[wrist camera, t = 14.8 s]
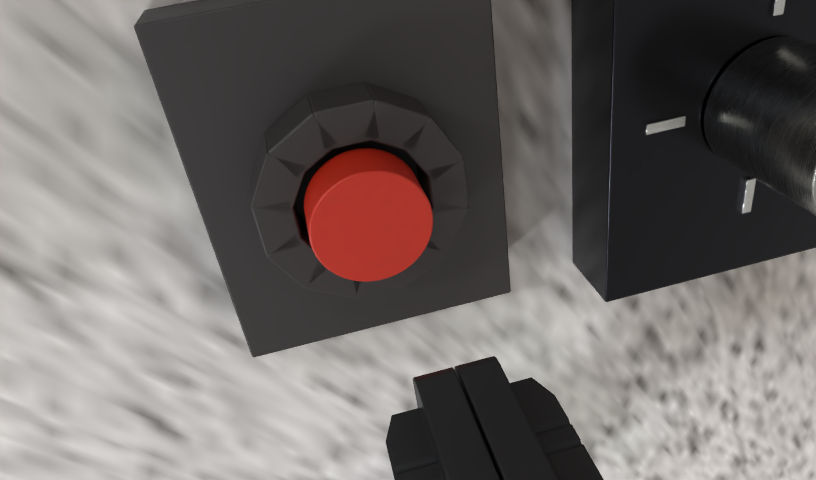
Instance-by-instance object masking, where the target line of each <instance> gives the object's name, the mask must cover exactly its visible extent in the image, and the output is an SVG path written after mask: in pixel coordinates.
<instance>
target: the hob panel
mask: <svg viewBox="0 0 816 480" xmlns="http://www.w3.org/2000/svg"><path fill="white" fill-rule="evenodd" d="M784 36H789V37H796V38H799V39H802V40H806V41H809V42H812V43H815V44H816V0H572V188H573V263H574V264H575V266H576V267H577V268H578V269H579V270H580V272H581V273H582V274H583V275H584V276H585V278H586V279H587V280H588V281H589V282H590V284H591V285H592V286H593V287H594V288H595V290H596V291H597V292H598V293H599V294H600V296H601V297H602V298H603V299H604V300H605V302H609V301H612V300H616V299H620V298H624V297H628V296H632V295H635V294H639V293H643V292H647V291H651V290H655V289H659V288H662V287H666V286H670V285H674V284H678V283H682V282H685V281H689V280H693V279H697V278H701V277H705V276H708V275H712V274H716V273H720V272H724V271H728V270H731V269H735V268H739V267H743V266H747V265H751V264H755V263H758V262H762V261H766V260H770V259H774V258H778V257H781V256H785V255H789V254H793V253H797V252H801V251H804V250H808V249H812V248H816V215H814V214H812V213H811V212H809V211H807V210H806V209H804V208H802V207H801V206H799V205H797V204H796V203H794V202H793V201H791V200H789V199H788V198H786V197H784V196H783V195H781V194H779V193H778V192H776V191H774V190H773V189H771V188H770V187H768V186H766V185H765V184H763V183H761V182H760V181H758V180H756V179H755V178H753V177H752V176H750V175H748V174H747V173H745V172H743V171H742V170H740V169H738V168H737V167H735V166H733V165H732V164H730V163H729V162H727V161H725V160H724V159H722V158H721V157H719V156H718V155H717V154H715V153H714V152H713V150H712V149H711V147H710V146H709V144H708V142H707V140H706V136H705V132H704V113H705V108H706V104H707V100H708V98H709V95H710V93H711V91H712V89H713V87H714V85H715V83H716V81H717V80H718V78H719V77H720V75H721V74H722V73H723V71H724V70H725V69H726V68H727V66H728V65H729V64H730V63H731V62H732V61H733V60H734V59H735V58H736V57H738V56H739V55H740V54H741V53H743V52H744V51H745V50H747V49H748V48H750V47H752V46H753V45H755V44H757V43H760V42H762V41H764V40H768V39H771V38H775V37H784Z"/></svg>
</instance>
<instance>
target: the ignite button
mask: <svg viewBox="0 0 816 480" xmlns="http://www.w3.org/2000/svg"><path fill="white" fill-rule="evenodd" d="M304 213H305V218H306V224H307V229H308V235H309V241H310V245H311V247H312V250H313V252H314V254H315V256H316V257H317V259H318V260H319V261H320V262H321V263H322V264H323V265H324V266H325V267H326V268H327V269H328V270H330V271H331V272H333V273H334V274H336V275H338V276H340V277H343V278H345V279H349V280H354V281H363V282H369V281H378V280H383V279H386V278H389V277H392V276H394V275H396V274H398V273H400V272H402V271H404V270H405V269H407V268H408V267H409V266H411V265H412V264H413V263H414V262H415V261H416V260H417V259H418V258H419V257H420V256H421V254H422V253H423V251H424V250H425V248H426V246H427V244H428V242H429V240H430V237H431V233H432V229H433V212H432V208H431V205H430V202H429V200H428V198H427V196H426V194H425V193H424V191H423V189H422V187H421V185H420V184H419V182H418V180H417V178H416V176H415V175H414V173H413V171H412V170H411V169H410V167H409V166H408V165H407V164H406V163H405V162H404V161H403V160H401V159H400V158H399V157H397V156H395V155H393V154H391V153H389V152H386V151H384V150H379V149H372V148H359V149H353V150H349V151H346V152H343V153H341V154H338V155H336V156H334V157H333V158H331V159H329V160H328V161H327V162H325V163H324V164H323V165H322V166H321V167H320V168H319V169H318V170H317V171H316V173H315V174H314V175H313V177H312V178H311V180H310V182H309V184H308V186H307V189H306V193H305V197H304Z"/></svg>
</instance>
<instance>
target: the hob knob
mask: <svg viewBox="0 0 816 480" xmlns="http://www.w3.org/2000/svg"><path fill="white" fill-rule="evenodd" d="M704 132H705V136H706V140H707V142H708V144H709V146H710V147H711V149H712V150H713V152H714V153H715V154H717V155H718V156H719V157H721V158H722V159H724V160H725V161H727V162H729V163H730V164H732V165H733V166H735V167H737V168H738V169H740V170H742V171H743V172H745V173H747V174H748V175H750V176H752V177H753V178H755V179H756V180H758V181H760V182H761V183H763V184H765V185H766V186H768V187H770V188H771V189H773V190H774V191H776V192H778V193H779V194H781V195H783V196H784V197H786V198H788V199H789V200H791V201H793V202H794V203H796V204H797V205H799V206H801V207H802V208H804V209H806V210H807V211H809V212H811V213H812V214H814V215H816V44H815V43H812V42H809V41H806V40H802V39H799V38H796V37H789V36H784V37H775V38H771V39H768V40H764V41H762V42H760V43H757V44H755V45H753V46H752V47H750V48H748V49H747V50H745V51H744V52H743V53H741V54H740V55H739V56H738V57H736V58H735V59H734V60H733V61H732V62H731V63H730V64H729V65H728V66H727V68H726V69H725V70H724V71H723V73H722V74H721V75H720V77H719V78H718V80H717V81H716V83H715V85H714V87H713V89H712V91H711V93H710V95H709V98H708V100H707V104H706V108H705V113H704Z"/></svg>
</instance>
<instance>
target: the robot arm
mask: <svg viewBox="0 0 816 480" xmlns="http://www.w3.org/2000/svg"><path fill="white" fill-rule="evenodd" d="M413 384H414V389H415V395H416V400H417V405H418V408H417V409H414V410H410V411H406V412H403V413H399V414H395V415H392V417H391V421H390V426H389V430H388V434H387V439H386V445H387V449H388V454H389V458H390V462H391V466H392V470H393V475H394V479H395V480H603V478H602V476H601V474H600V473H599V471H598V469H597V467H596V466H595V464H594V462H593V461H592V459H591V457H590V455H589V454H588V452H587V450H586V448H585V447H584V445H582V444H581V441H580V438H579V436H578V435H577V433H576V431H575V429H574V428H573V426H572V424H570V423H569V419H568V417H567V416H566V414H565V412H564V410H563V409H562V407H561V405H560V404H559V402H558V400H557V398H556V397H555V395H554V394H552V393H551V392H550V391H548V390H547V389H546V388H545V387H543V386H542V385H541V384H539V383H538V382H537V381H535V380H534V379H533V378H532V377H531V378H528V379H524V380H520V381H516V382H513V383H509V381H508V379H507V377H506V375H505V373H504V371H503V369H502V367H501V365H500V363H499V362H498V360H497V358H496V357H494V356H493V357H489V358H485V359H481V360H477V361H474V362H470V363H466V364H462V365H459V366H455V369H453V368H448V369H444V370H440V371H437V372H433V373H429V374H425V375H422V376H418V377H414V378H413Z"/></svg>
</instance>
